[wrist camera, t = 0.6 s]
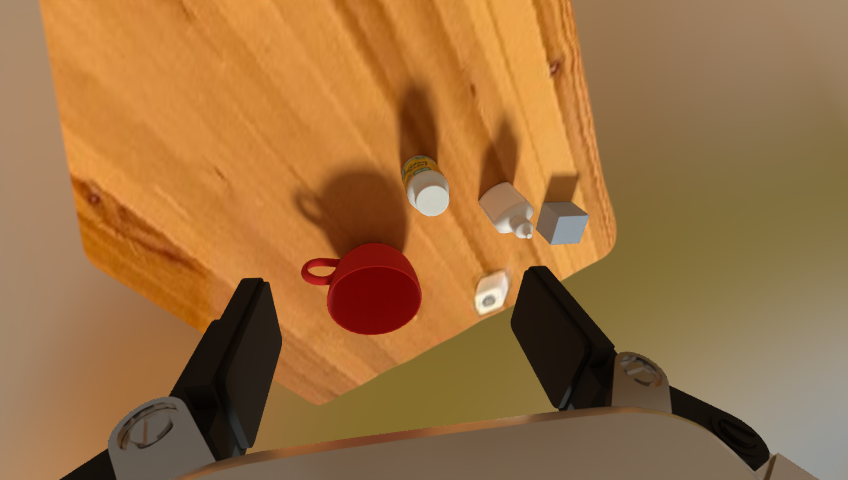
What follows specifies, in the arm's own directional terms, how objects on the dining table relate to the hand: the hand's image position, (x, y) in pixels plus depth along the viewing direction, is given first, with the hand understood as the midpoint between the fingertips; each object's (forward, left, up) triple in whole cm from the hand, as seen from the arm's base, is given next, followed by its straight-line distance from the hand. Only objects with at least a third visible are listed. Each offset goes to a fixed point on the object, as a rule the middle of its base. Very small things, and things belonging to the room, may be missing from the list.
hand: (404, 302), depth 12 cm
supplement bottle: (+8, +6, -34) cm, 35 cm away
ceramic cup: (+22, -3, -34) cm, 40 cm away
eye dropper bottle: (+12, +18, -34) cm, 40 cm away
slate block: (+16, +29, -34) cm, 47 cm away
